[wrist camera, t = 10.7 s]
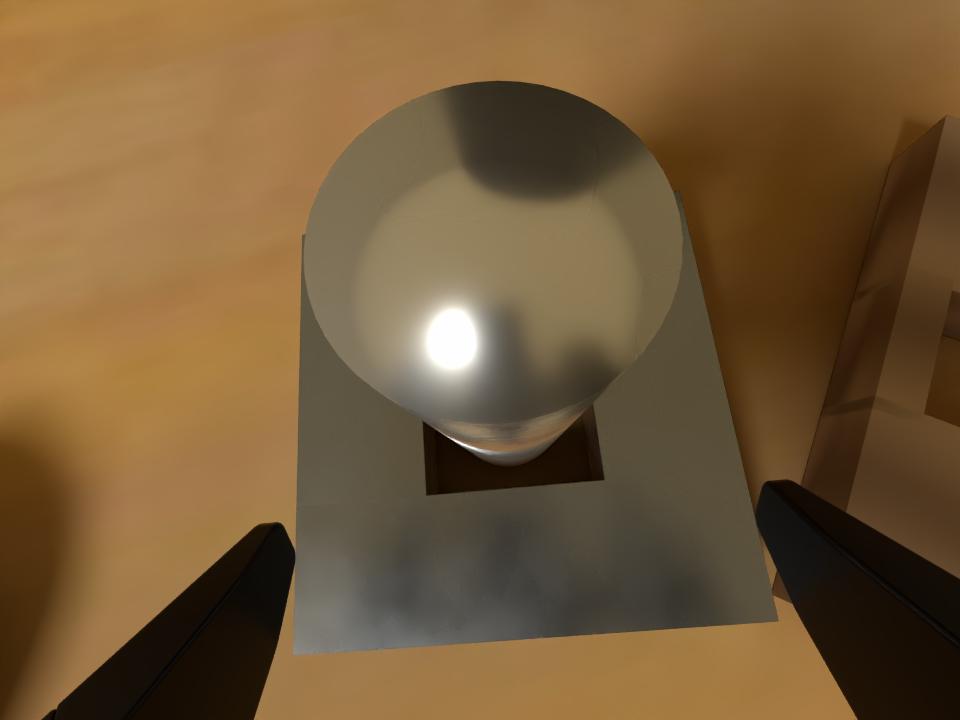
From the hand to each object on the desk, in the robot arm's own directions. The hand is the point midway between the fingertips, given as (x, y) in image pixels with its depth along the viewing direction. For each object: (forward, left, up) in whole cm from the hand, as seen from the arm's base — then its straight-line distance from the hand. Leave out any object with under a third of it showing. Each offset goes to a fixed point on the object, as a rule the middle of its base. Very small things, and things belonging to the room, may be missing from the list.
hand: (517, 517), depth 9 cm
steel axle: (+3, 0, -8) cm, 9 cm away
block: (+3, 0, -8) cm, 9 cm away
